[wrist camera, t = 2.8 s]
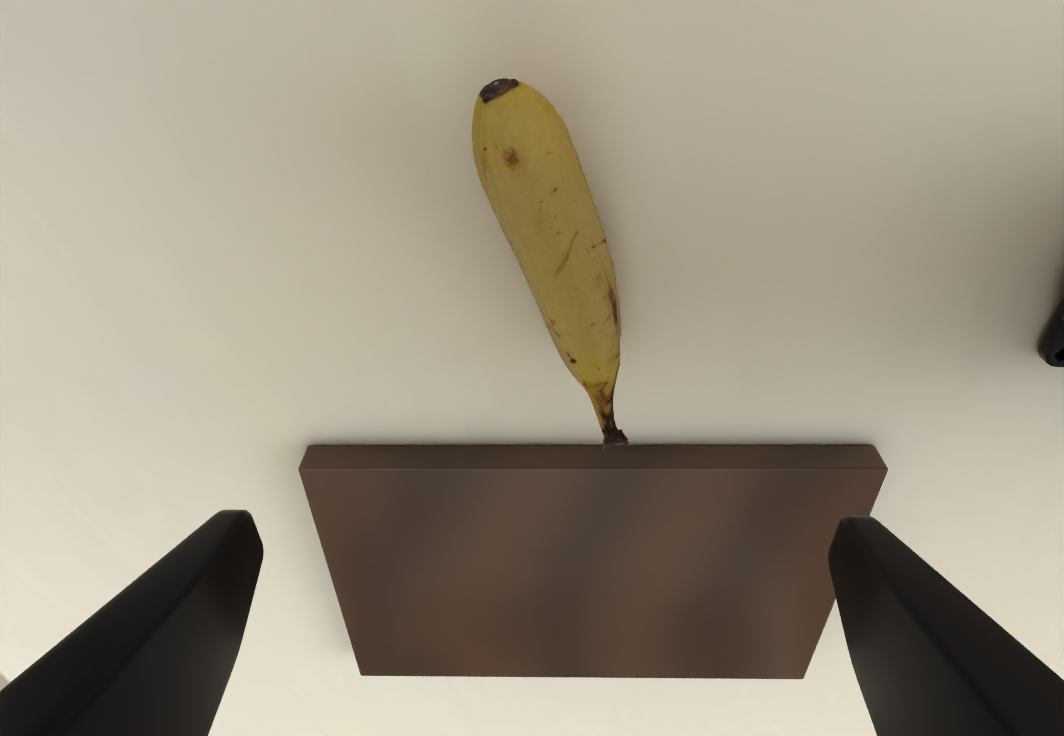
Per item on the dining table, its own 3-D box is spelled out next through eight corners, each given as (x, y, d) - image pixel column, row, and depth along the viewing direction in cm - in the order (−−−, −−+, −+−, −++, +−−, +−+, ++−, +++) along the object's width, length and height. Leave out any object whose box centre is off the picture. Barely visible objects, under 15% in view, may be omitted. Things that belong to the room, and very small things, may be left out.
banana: (459, 64, 16) (436, 107, 13) (552, 32, 16) (554, 67, 13) (569, 380, 22) (573, 465, 19) (641, 363, 21) (658, 447, 18)
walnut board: (874, 444, 23) (889, 468, 22) (795, 654, 31) (803, 679, 30) (307, 445, 24) (297, 468, 23) (366, 651, 31) (360, 676, 30)
